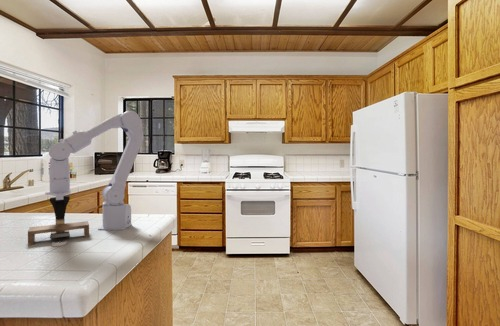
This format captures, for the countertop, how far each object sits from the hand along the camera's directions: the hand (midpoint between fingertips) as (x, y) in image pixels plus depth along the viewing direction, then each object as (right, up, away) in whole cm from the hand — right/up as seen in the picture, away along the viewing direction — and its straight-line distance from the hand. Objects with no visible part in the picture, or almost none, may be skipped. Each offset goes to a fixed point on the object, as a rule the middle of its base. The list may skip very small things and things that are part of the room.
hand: (60, 218), depth 97 cm
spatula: (+3, -5, -4) cm, 7 cm away
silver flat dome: (+7, -6, -11) cm, 15 cm away
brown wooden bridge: (+3, -6, -5) cm, 8 cm away
